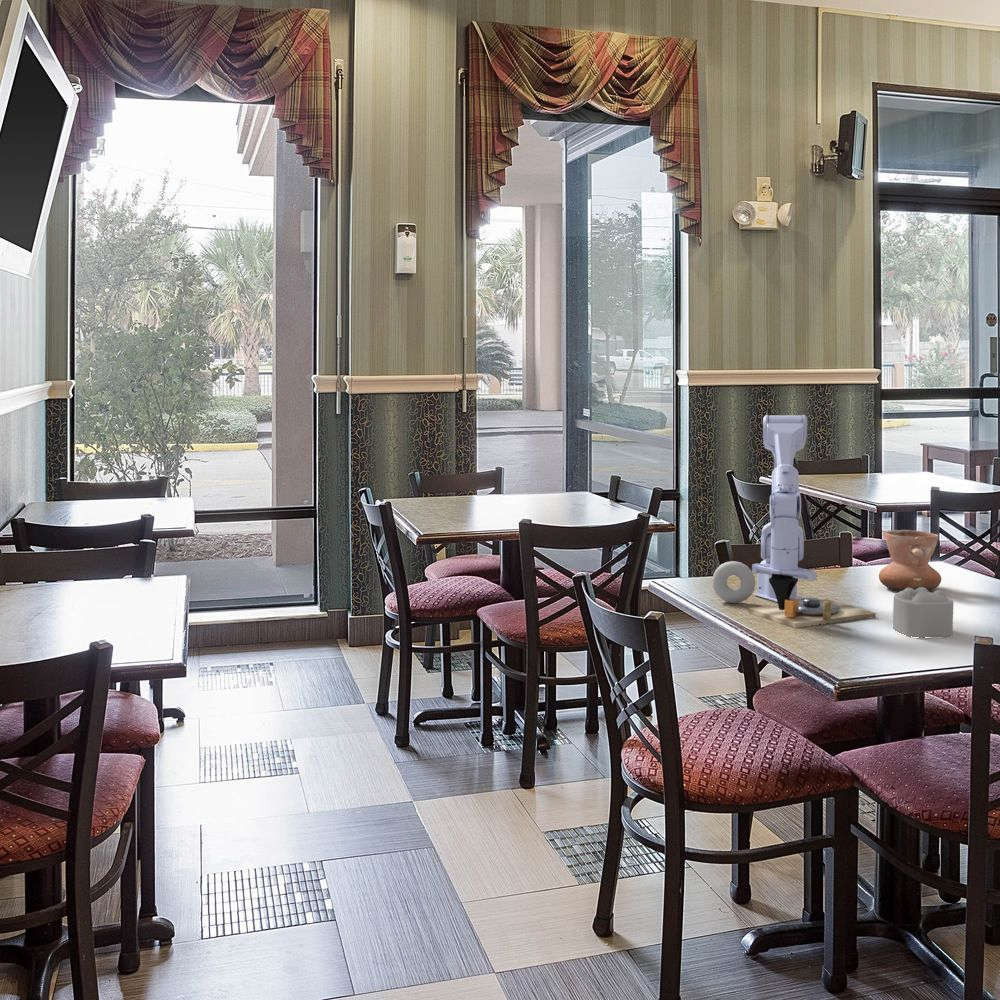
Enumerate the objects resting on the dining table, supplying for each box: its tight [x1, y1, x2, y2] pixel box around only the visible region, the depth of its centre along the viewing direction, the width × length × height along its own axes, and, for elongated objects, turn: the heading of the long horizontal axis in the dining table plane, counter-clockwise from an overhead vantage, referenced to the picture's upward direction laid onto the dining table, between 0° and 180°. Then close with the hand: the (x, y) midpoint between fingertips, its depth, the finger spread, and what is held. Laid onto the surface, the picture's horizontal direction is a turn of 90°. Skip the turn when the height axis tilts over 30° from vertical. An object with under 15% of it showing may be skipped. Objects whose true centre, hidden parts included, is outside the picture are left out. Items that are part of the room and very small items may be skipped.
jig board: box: [748, 598, 877, 629], centre depth 238 cm, size 17×22×5 cm
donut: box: [711, 560, 756, 604], centre depth 252 cm, size 10×4×10 cm, turn 69°
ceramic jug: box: [878, 529, 942, 592], centre depth 265 cm, size 18×14×14 cm
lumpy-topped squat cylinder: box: [892, 587, 955, 639], centre depth 223 cm, size 10×13×9 cm
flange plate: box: [784, 597, 840, 617], centre depth 237 cm, size 12×16×4 cm
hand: (783, 609), depth 234 cm, fingers closed
